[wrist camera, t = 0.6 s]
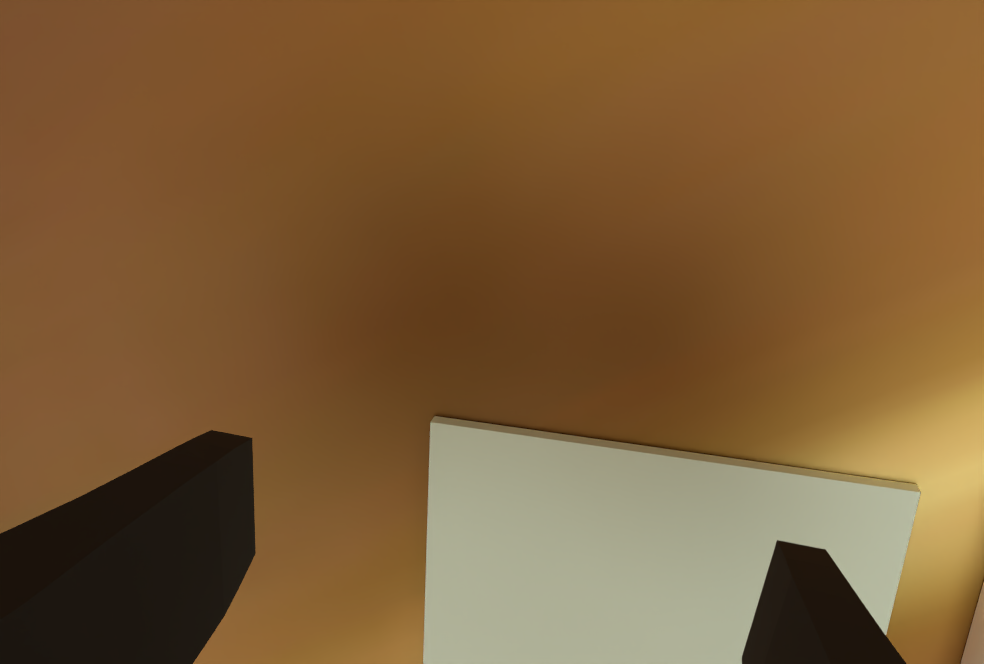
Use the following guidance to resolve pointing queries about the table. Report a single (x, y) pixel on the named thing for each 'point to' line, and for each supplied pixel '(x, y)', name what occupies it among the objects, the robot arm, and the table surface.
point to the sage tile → (629, 546)
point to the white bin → (976, 636)
